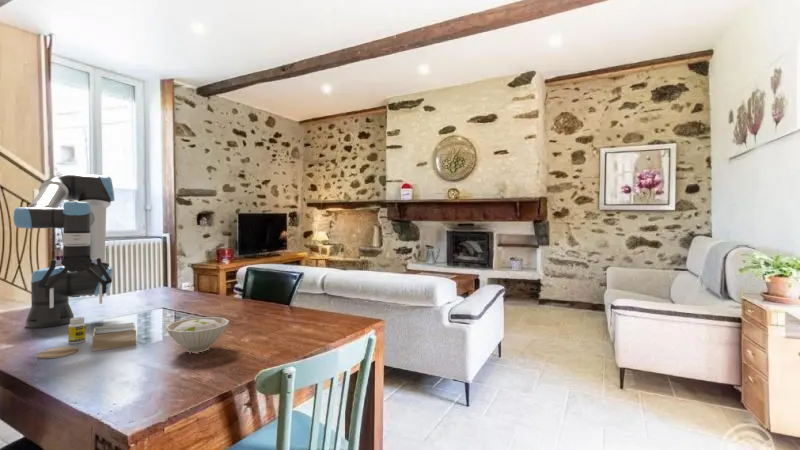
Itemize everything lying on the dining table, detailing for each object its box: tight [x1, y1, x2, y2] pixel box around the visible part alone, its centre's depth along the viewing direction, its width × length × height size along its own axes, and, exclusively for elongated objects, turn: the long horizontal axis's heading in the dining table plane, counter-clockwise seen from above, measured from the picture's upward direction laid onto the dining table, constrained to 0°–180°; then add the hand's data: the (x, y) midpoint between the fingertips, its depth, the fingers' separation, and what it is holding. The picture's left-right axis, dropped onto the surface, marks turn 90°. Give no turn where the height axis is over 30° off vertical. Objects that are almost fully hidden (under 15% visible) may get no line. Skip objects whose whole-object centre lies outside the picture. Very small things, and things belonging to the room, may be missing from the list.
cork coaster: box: [37, 346, 79, 360], centre depth 130 cm, size 10×10×1 cm
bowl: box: [165, 316, 230, 352], centre depth 135 cm, size 19×19×10 cm
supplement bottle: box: [67, 316, 87, 345], centre depth 142 cm, size 5×5×8 cm
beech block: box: [92, 322, 137, 352], centre depth 141 cm, size 12×12×5 cm
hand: (76, 305), depth 142 cm, fingers open, 13 cm apart
